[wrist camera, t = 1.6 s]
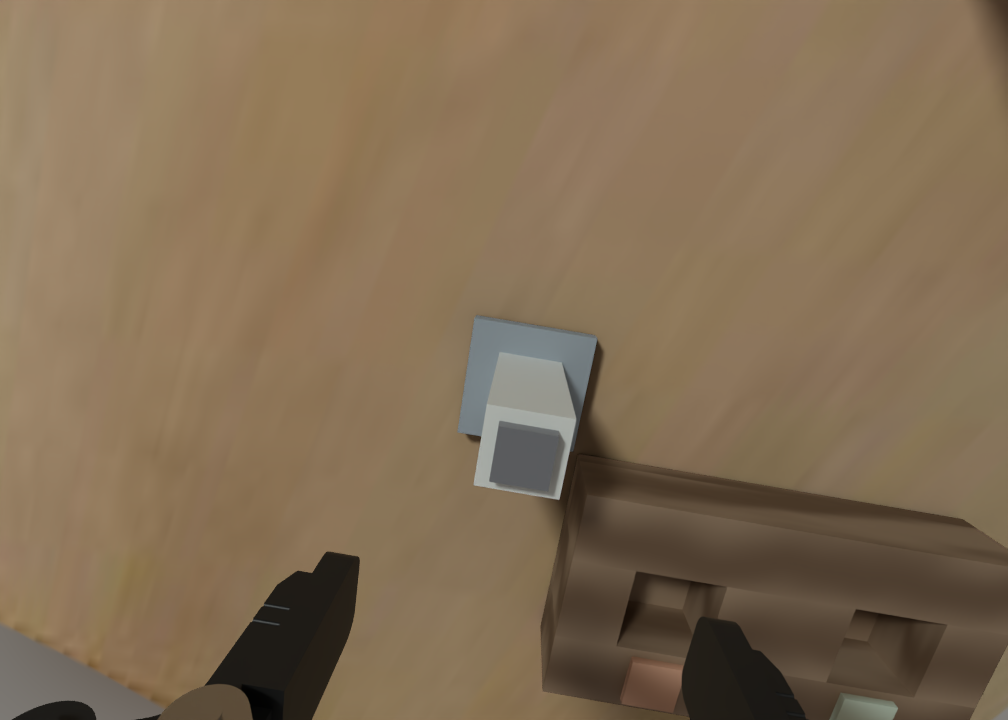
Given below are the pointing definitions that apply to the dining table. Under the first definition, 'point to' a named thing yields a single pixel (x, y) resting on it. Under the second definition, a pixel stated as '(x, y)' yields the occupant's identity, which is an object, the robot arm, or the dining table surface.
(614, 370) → the dining table surface
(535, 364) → the plug
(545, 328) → the thin square blue plate
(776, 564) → the socket block
